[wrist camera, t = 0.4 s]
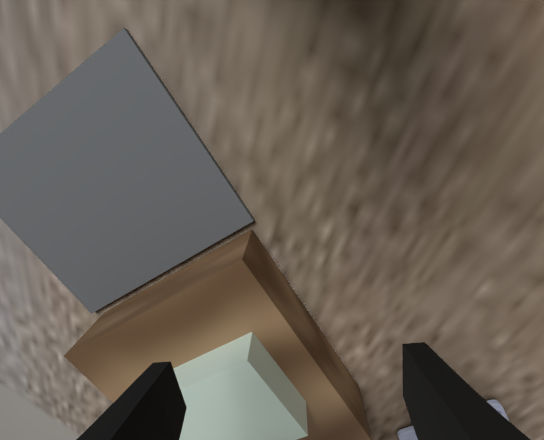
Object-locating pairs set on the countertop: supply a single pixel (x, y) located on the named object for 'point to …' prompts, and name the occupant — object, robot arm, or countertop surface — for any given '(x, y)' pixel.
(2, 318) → the countertop surface
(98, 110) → the mat
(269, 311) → the tan square board
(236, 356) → the pale green rectangular block
